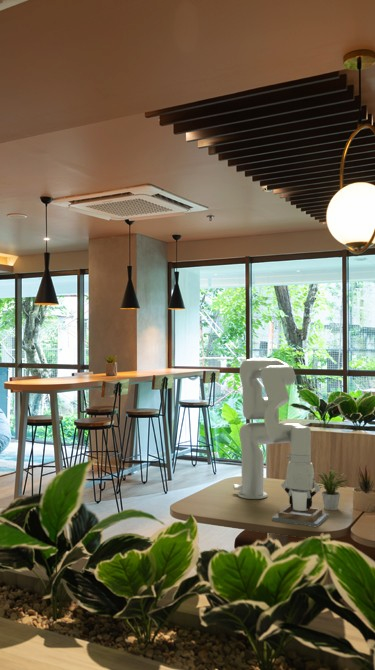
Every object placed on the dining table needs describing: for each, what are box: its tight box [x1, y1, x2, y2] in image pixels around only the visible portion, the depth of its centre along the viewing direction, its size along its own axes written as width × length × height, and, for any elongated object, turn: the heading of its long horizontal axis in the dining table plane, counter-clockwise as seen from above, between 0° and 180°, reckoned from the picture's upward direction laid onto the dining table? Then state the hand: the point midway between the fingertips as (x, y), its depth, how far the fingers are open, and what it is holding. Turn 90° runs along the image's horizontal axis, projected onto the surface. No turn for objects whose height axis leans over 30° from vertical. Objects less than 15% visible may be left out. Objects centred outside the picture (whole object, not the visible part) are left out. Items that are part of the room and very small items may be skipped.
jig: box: [271, 504, 329, 528], centre depth 227 cm, size 17×15×3 cm
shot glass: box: [291, 490, 308, 511], centre depth 227 cm, size 7×7×7 cm
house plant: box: [314, 466, 351, 511], centre depth 241 cm, size 14×14×16 cm
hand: (300, 506), depth 227 cm, fingers closed on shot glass, 5 cm apart
